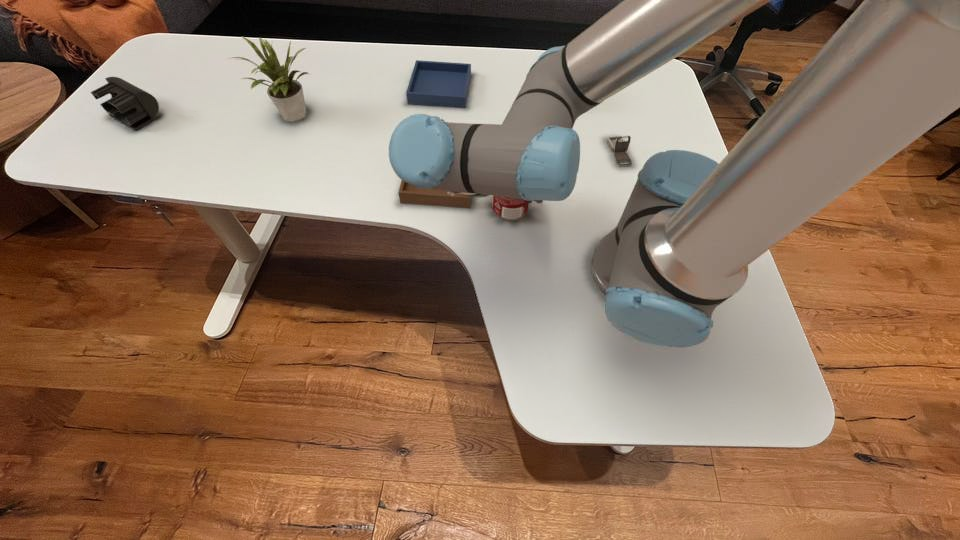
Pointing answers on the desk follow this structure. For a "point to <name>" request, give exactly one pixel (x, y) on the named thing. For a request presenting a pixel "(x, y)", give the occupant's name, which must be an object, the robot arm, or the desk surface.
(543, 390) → the desk surface
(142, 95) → the end cap
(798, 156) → the robot arm
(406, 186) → the walnut tray
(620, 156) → the strap clip
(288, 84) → the house plant
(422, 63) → the blue tray
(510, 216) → the soda can
